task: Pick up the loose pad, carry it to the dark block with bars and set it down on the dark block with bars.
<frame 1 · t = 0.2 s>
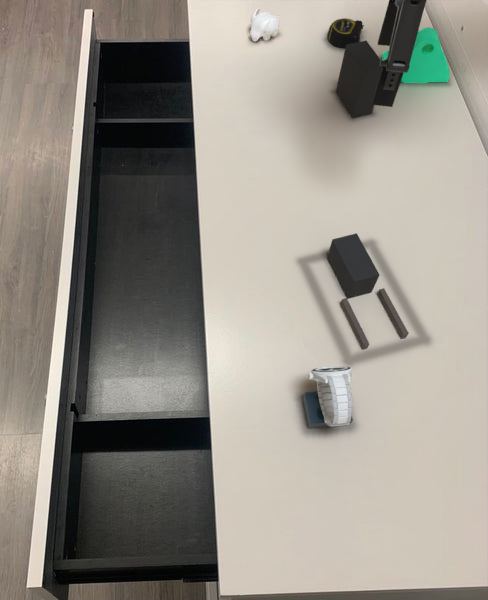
hand: (384, 73, 77), 21 cm above the table, tool pointing down, fingers open, 13 cm apart
camera mount: (411, 75, 107), on the table
tape measure: (346, 43, 114), on the table
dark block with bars: (359, 301, 81), on the table
watch: (323, 413, 73), on the table
elephant figurine: (264, 40, 116), on the table
loose pad: (352, 106, 103), on the table
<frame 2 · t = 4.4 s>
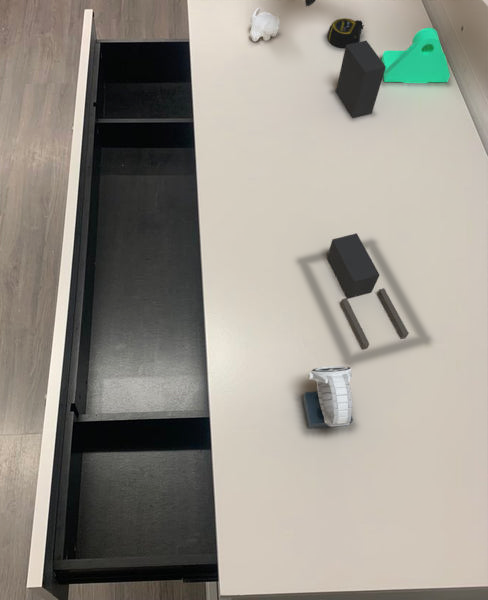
nothing on the table moved.
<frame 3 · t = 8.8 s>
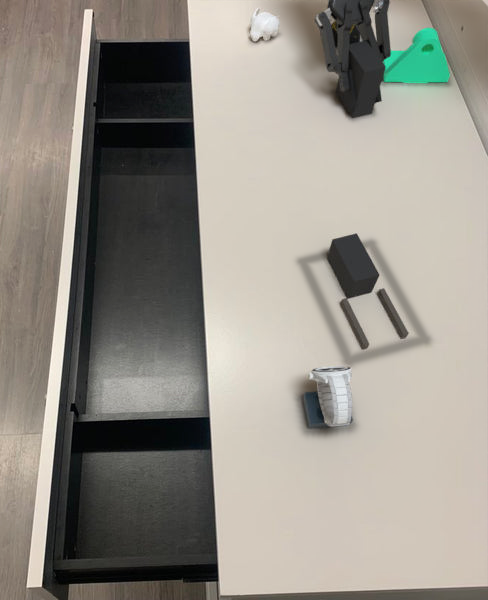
hand: (364, 105, 99), 3 cm above the table, tool tilted 45°, fingers closed on loose pad, 4 cm apart
loose pad: (352, 106, 103), on the table, touching gripper
everything else where it was.
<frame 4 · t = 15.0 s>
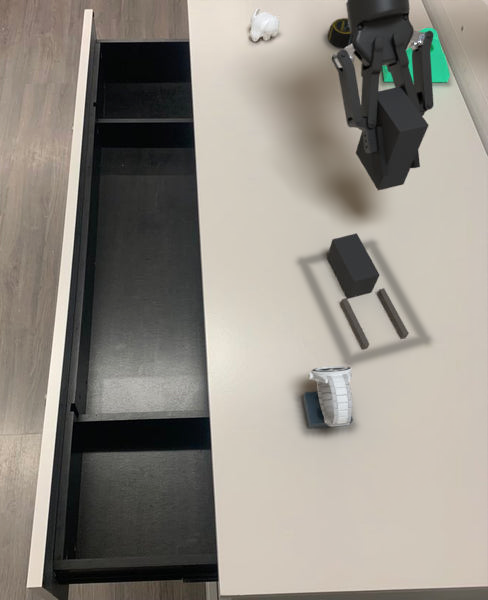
hand: (396, 171, 74), 15 cm above the table, tool tilted 45°, fingers closed on loose pad, 4 cm apart
loose pad: (378, 168, 79), point 12 cm above the table, touching gripper
everything else where it was.
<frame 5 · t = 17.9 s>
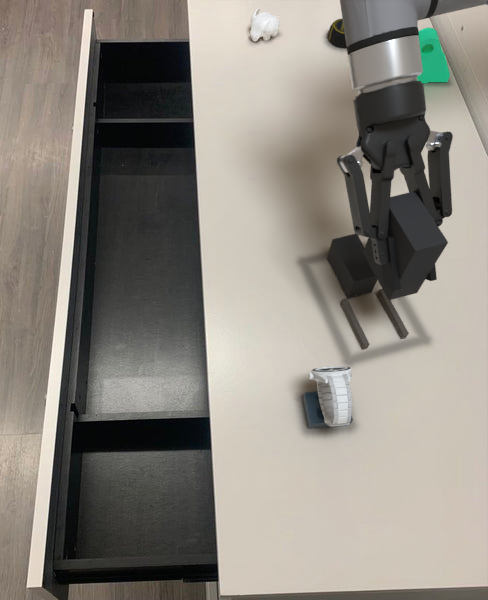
hand: (409, 282, 66), 15 cm above the table, tool tilted 45°, fingers closed on loose pad, 4 cm apart
loose pad: (389, 272, 71), point 11 cm above the table, touching gripper
everything else where it was.
when the fingers open (4 cm above the table, at t = 21.0 s): loose pad stays where it is, resting on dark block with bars.
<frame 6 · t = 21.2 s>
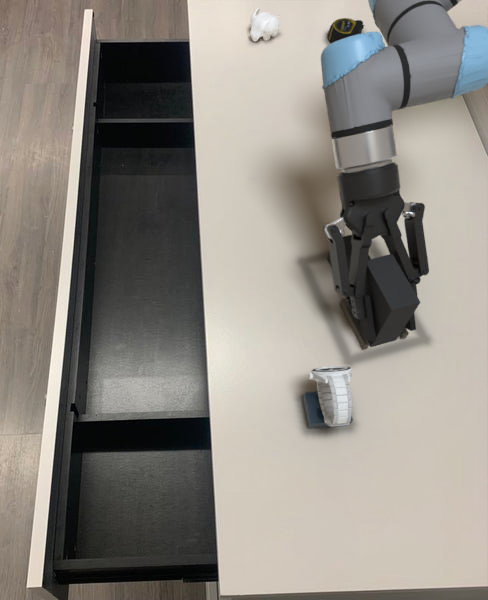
hand: (388, 332, 74), 4 cm above the table, tool tilted 45°, fingers open, 5 cm apart
loose pad: (371, 320, 79), point 1 cm above the table, touching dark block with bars
everything else where it was.
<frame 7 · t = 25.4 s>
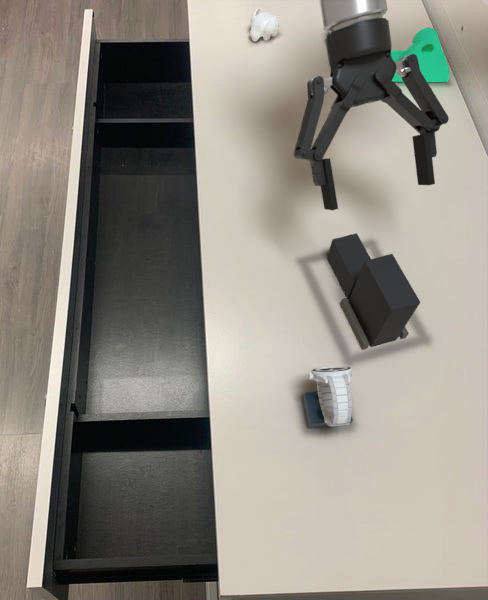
hand: (379, 197, 70), 17 cm above the table, tool tilted 45°, fingers open, 13 cm apart
nothing on the table moved.
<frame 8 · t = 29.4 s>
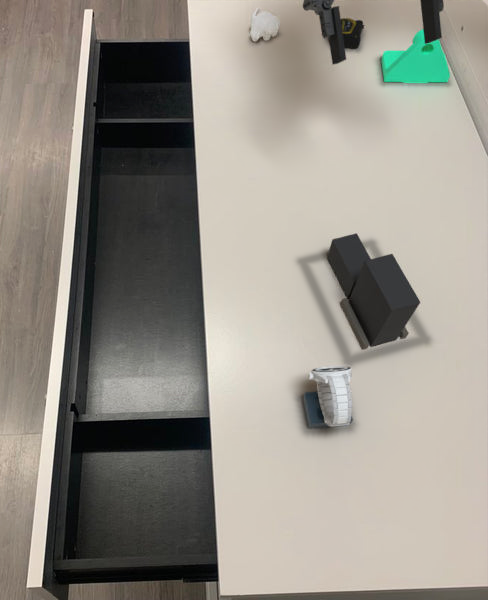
hand: (386, 51, 71), 26 cm above the table, tool tilted 45°, fingers open, 13 cm apart
nothing on the table moved.
at the end: loose pad 0.1 cm from the target spot on the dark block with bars, point 0.8 cm above the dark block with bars's base; loose pad tilted 0°; the gripper is holding nothing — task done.
